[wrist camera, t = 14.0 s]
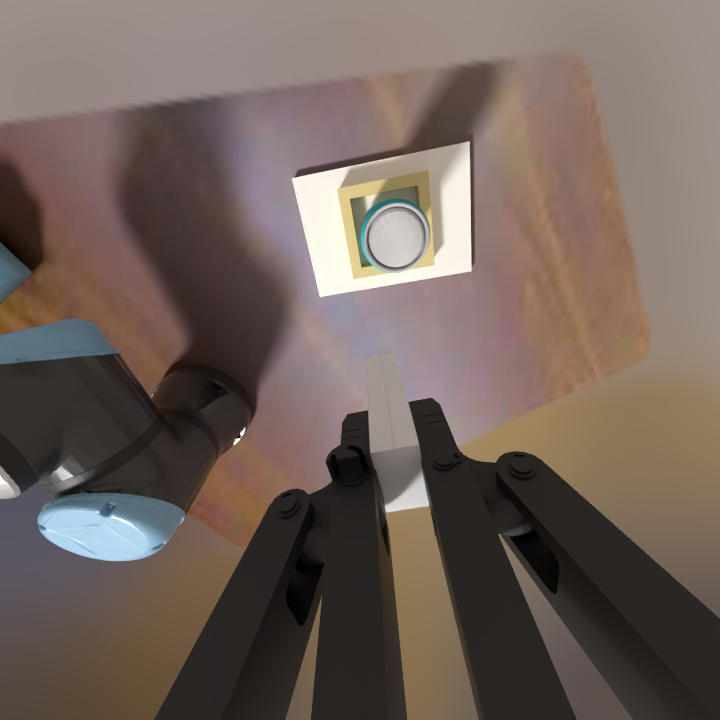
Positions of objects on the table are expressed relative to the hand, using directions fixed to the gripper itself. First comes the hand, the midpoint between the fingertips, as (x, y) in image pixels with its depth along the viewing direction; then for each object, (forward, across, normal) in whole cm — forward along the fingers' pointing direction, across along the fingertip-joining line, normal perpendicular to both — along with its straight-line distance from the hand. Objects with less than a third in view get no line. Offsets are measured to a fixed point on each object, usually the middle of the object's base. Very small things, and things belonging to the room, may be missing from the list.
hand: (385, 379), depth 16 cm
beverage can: (+28, +3, +5) cm, 28 cm away
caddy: (+28, +3, +5) cm, 29 cm away
